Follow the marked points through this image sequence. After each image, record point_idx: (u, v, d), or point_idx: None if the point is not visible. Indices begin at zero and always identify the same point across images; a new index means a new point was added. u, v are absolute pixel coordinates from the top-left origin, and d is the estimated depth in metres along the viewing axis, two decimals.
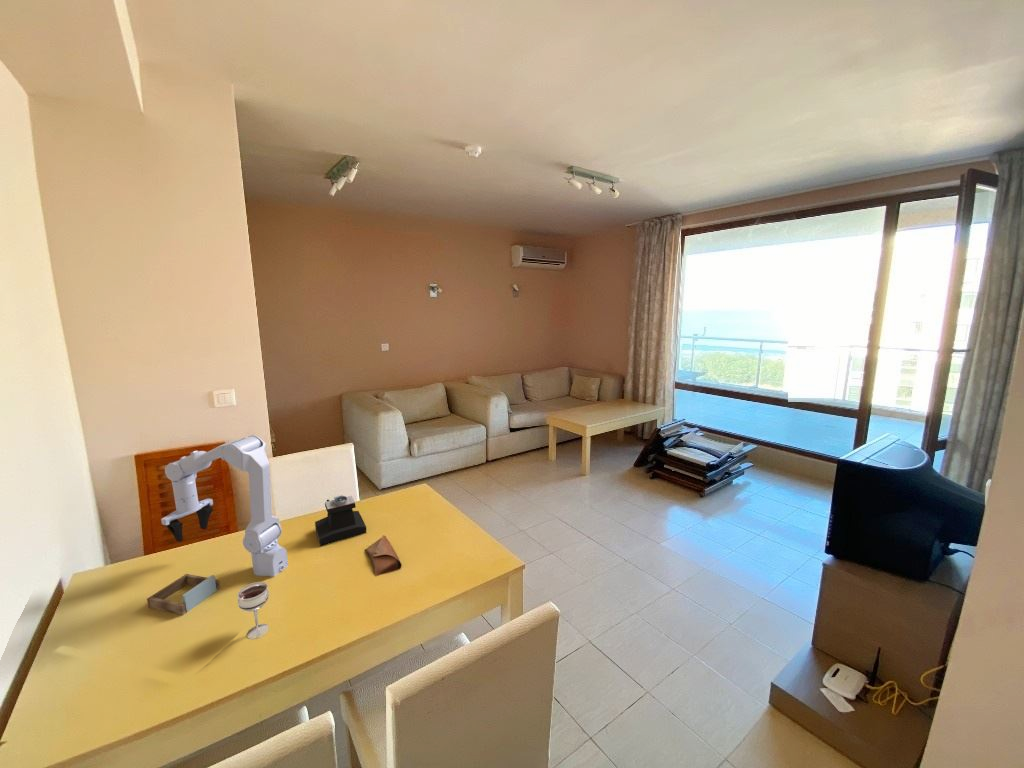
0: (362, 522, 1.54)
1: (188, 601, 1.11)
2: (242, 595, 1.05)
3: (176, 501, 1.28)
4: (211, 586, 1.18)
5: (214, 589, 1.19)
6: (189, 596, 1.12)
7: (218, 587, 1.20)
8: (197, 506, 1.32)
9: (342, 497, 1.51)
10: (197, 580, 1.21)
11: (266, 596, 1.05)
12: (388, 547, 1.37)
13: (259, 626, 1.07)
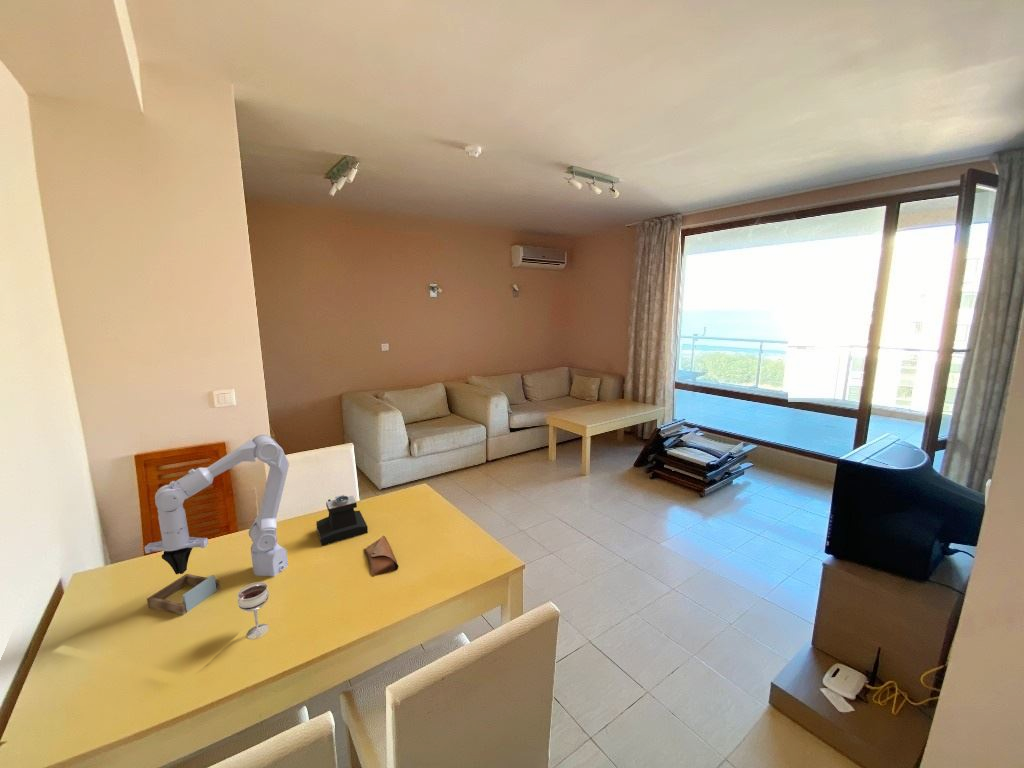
0: (363, 522, 1.54)
1: (188, 601, 1.11)
2: (242, 595, 1.05)
3: None
4: (211, 586, 1.18)
5: (214, 589, 1.19)
6: (189, 596, 1.12)
7: (218, 587, 1.20)
8: (176, 545, 1.11)
9: (343, 497, 1.52)
10: (197, 580, 1.21)
11: (266, 596, 1.05)
12: (386, 548, 1.37)
13: (259, 626, 1.07)
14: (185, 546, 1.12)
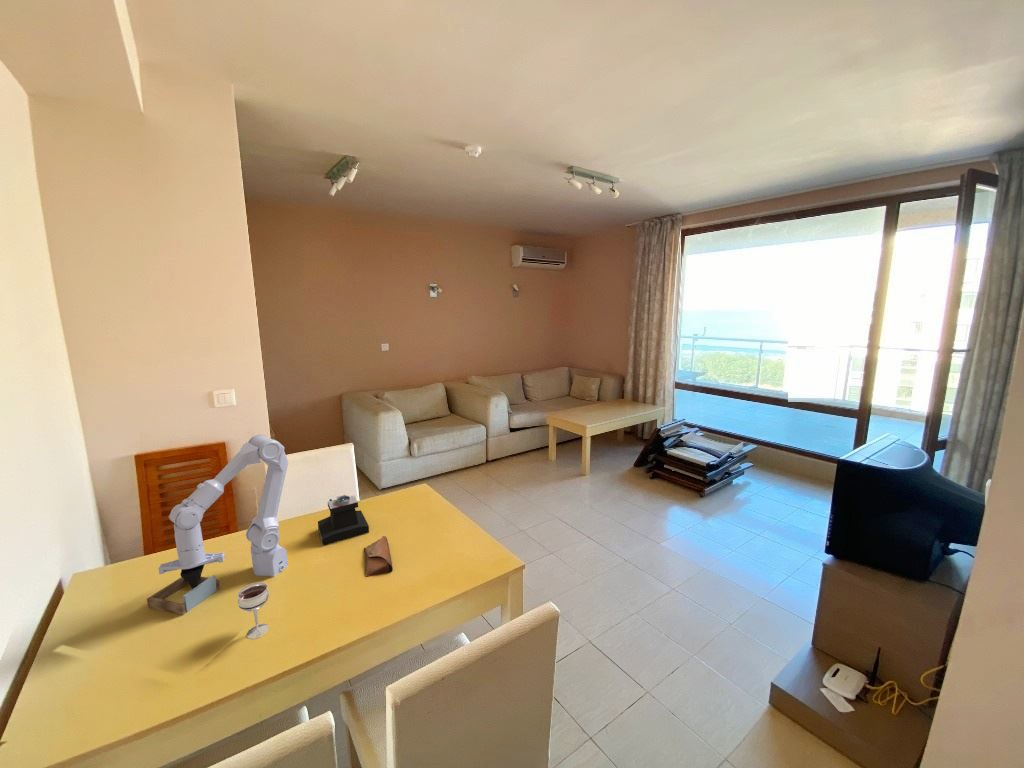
0: (365, 522, 1.54)
1: (189, 601, 1.11)
2: (242, 595, 1.05)
3: None
4: (211, 586, 1.18)
5: (214, 589, 1.19)
6: (189, 596, 1.11)
7: (218, 587, 1.20)
8: (194, 562, 1.12)
9: (345, 497, 1.52)
10: None
11: (266, 596, 1.05)
12: (384, 549, 1.37)
13: (259, 626, 1.07)
14: (204, 562, 1.13)
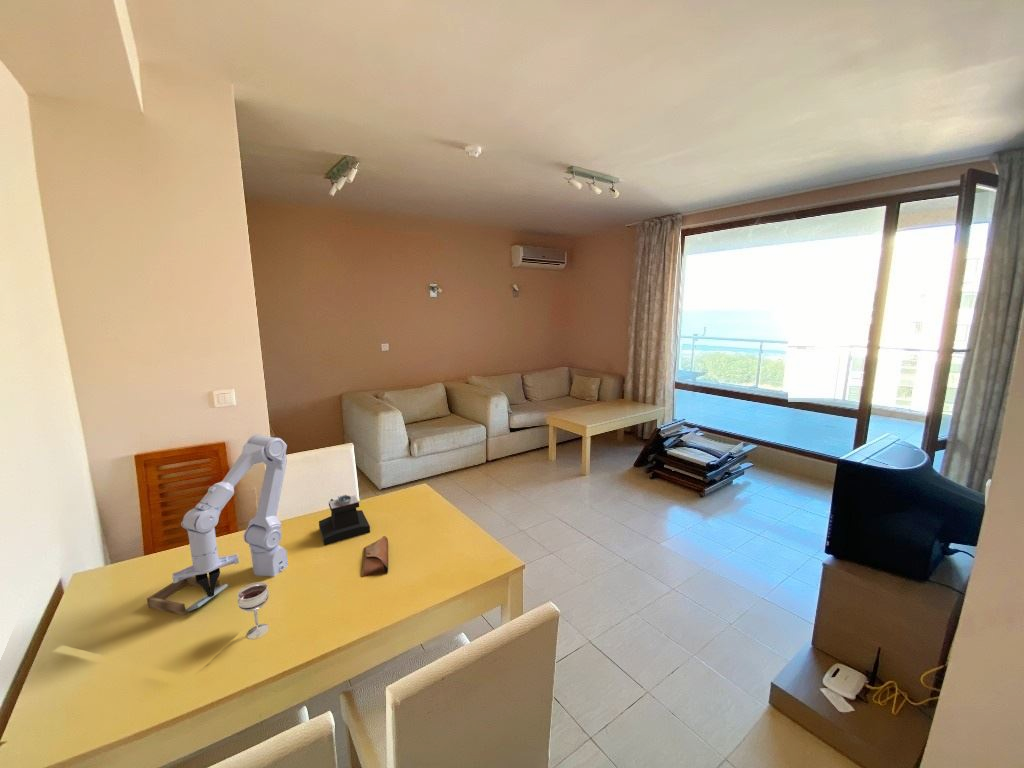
0: (366, 521, 1.55)
1: None
2: (242, 595, 1.05)
3: None
4: None
5: None
6: (200, 605, 1.11)
7: None
8: (212, 566, 1.11)
9: (346, 496, 1.52)
10: None
11: (266, 596, 1.05)
12: (382, 550, 1.36)
13: (259, 626, 1.07)
14: (221, 565, 1.13)
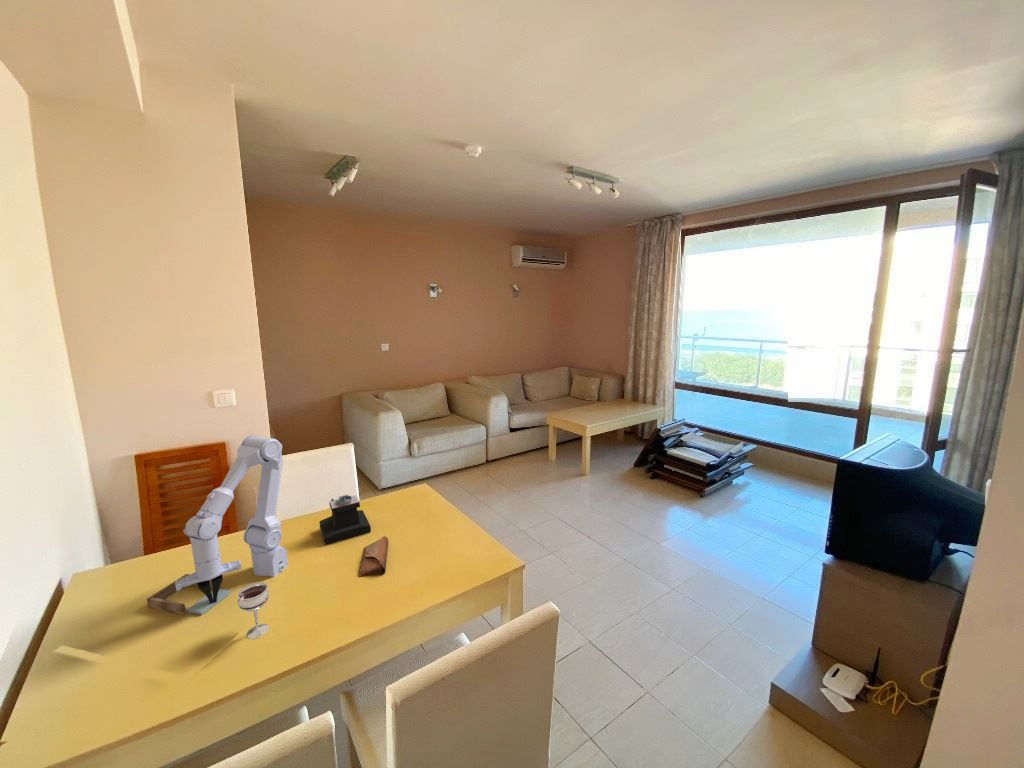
0: (366, 521, 1.55)
1: None
2: (242, 595, 1.05)
3: (194, 563, 1.10)
4: None
5: None
6: None
7: None
8: (215, 572, 1.11)
9: (346, 496, 1.52)
10: None
11: (266, 596, 1.05)
12: (380, 550, 1.36)
13: (259, 626, 1.07)
14: (224, 571, 1.13)
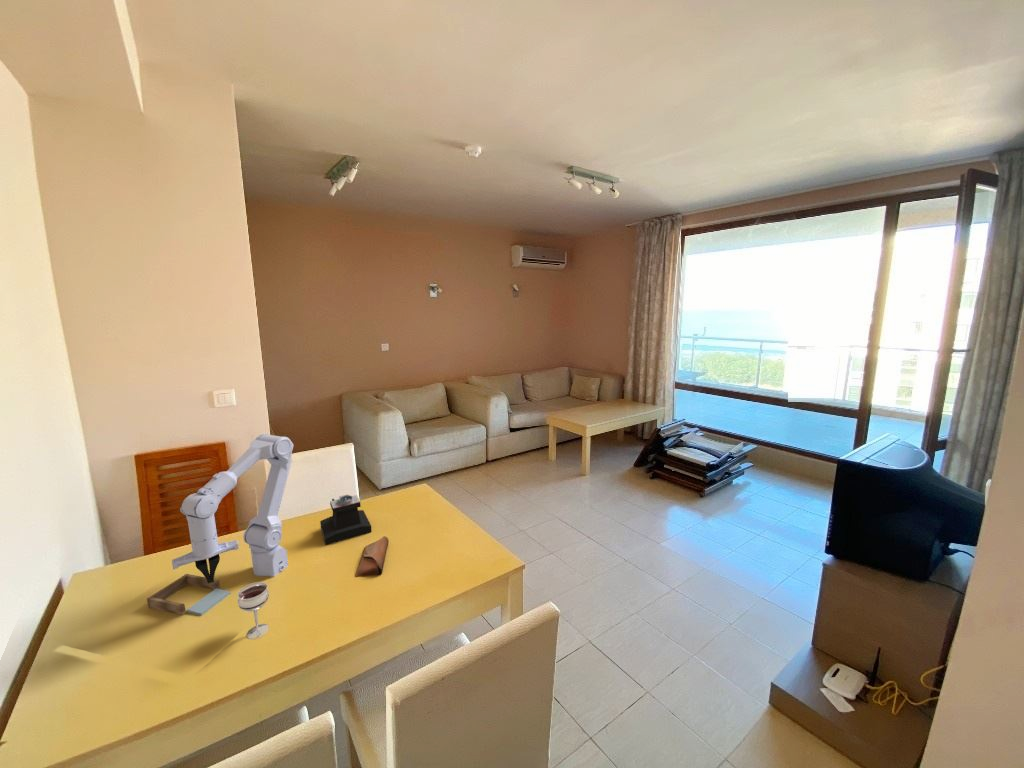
0: (367, 521, 1.55)
1: None
2: (242, 595, 1.05)
3: (191, 542, 1.09)
4: None
5: None
6: None
7: (218, 587, 1.20)
8: (212, 551, 1.10)
9: (347, 496, 1.52)
10: (197, 580, 1.21)
11: (266, 596, 1.05)
12: (379, 550, 1.36)
13: (259, 626, 1.07)
14: (221, 551, 1.12)
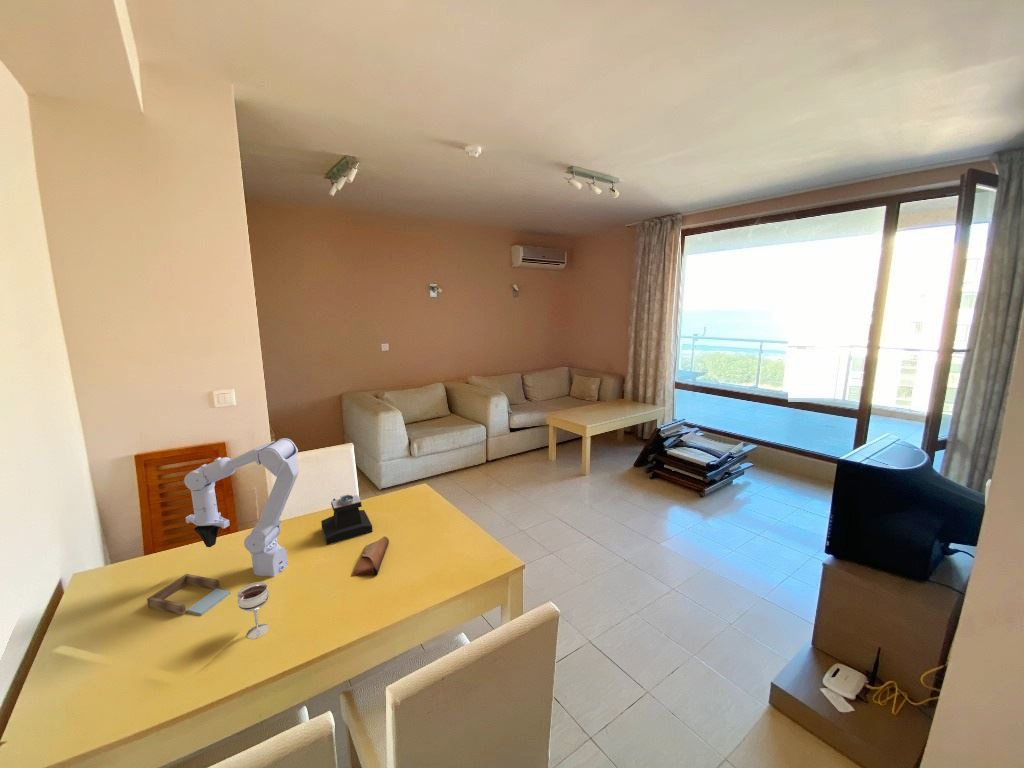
0: (368, 521, 1.55)
1: None
2: (242, 595, 1.05)
3: None
4: None
5: None
6: None
7: (218, 587, 1.20)
8: (202, 521, 1.24)
9: (348, 496, 1.52)
10: (197, 580, 1.21)
11: (266, 596, 1.05)
12: (377, 551, 1.36)
13: (259, 626, 1.07)
14: (209, 524, 1.24)
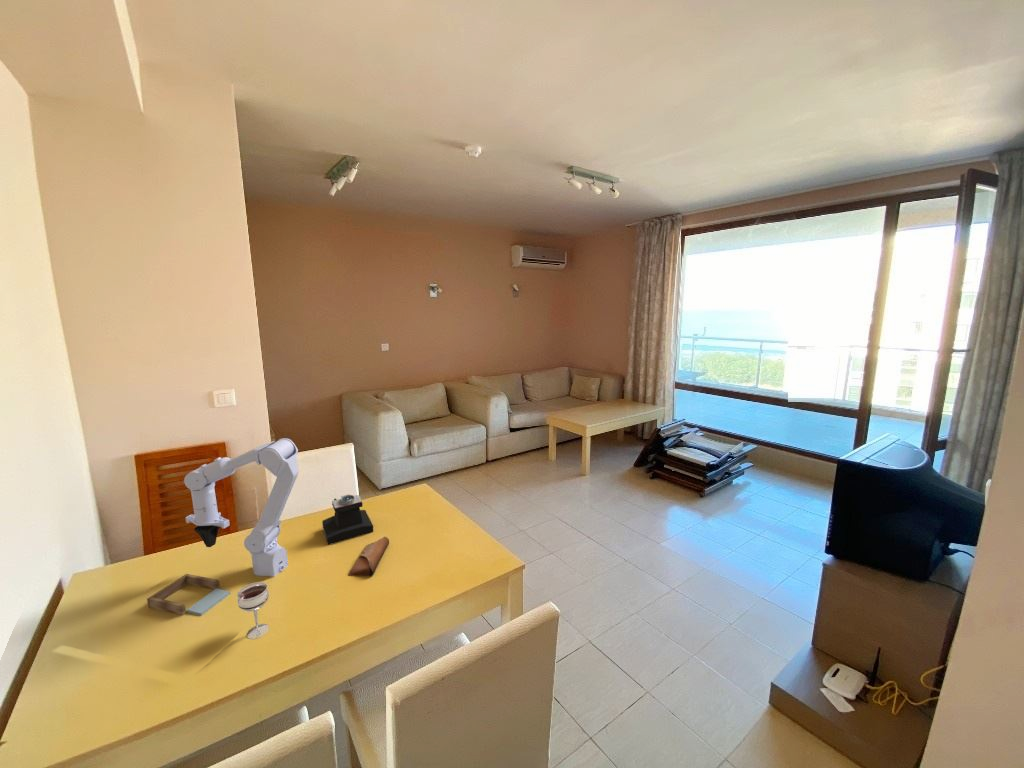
0: (369, 521, 1.55)
1: None
2: (242, 595, 1.05)
3: None
4: None
5: None
6: None
7: (218, 587, 1.20)
8: (202, 521, 1.24)
9: (349, 496, 1.52)
10: (197, 580, 1.21)
11: (266, 596, 1.05)
12: (375, 551, 1.35)
13: (259, 626, 1.07)
14: (209, 524, 1.24)
